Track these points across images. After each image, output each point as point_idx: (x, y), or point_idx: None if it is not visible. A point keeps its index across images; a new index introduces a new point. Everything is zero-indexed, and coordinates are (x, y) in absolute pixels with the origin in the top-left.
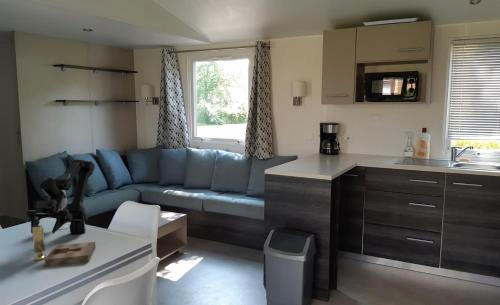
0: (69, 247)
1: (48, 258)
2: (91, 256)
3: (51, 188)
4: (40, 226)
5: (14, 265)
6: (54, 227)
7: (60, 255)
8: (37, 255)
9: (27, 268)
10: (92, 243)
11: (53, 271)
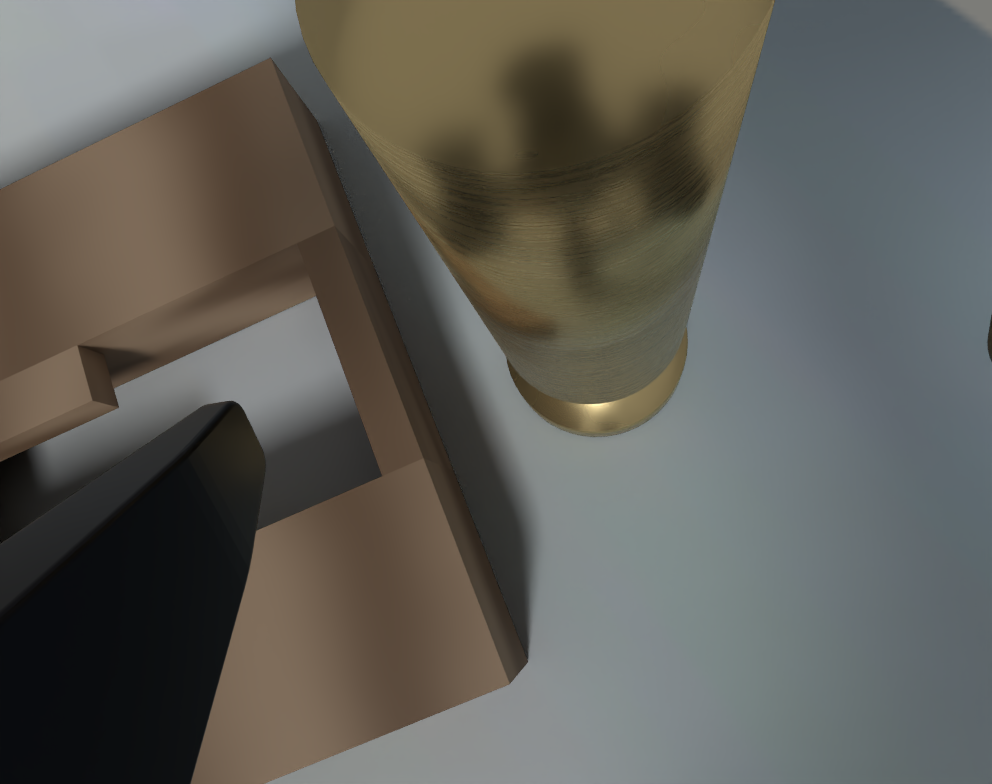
0: None
1: (234, 101)
2: None
3: None
4: (422, 10)
5: (807, 59)
6: (97, 492)
7: (117, 237)
8: (671, 363)
9: None
10: None
11: (126, 33)
